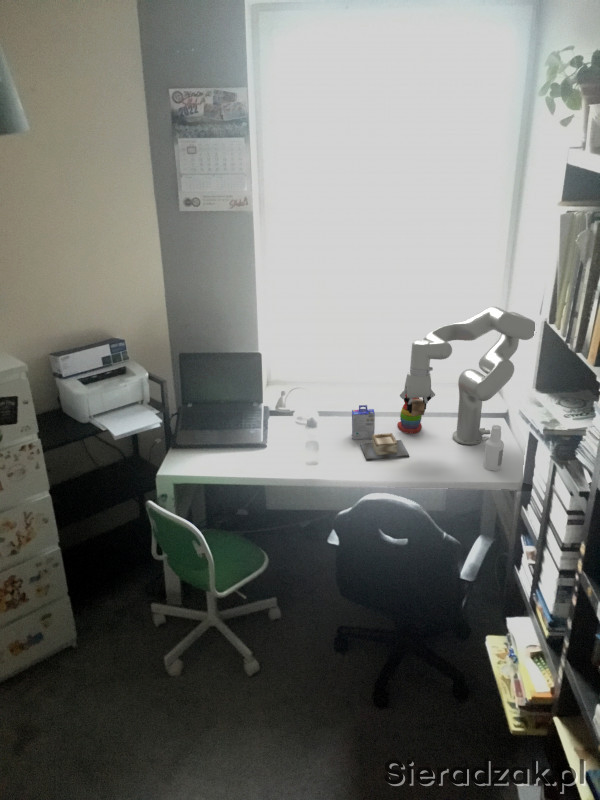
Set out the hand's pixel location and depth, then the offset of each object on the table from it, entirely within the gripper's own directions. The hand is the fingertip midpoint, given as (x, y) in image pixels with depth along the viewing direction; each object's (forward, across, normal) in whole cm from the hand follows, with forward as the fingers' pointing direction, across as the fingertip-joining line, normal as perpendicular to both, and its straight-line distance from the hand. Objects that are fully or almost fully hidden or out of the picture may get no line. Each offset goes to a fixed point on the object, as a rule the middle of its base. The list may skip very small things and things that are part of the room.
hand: (416, 411), depth 264 cm
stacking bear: (+18, -4, -18) cm, 26 cm away
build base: (+19, +12, -1) cm, 22 cm away
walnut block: (+1, 0, 0) cm, 1 cm away
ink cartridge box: (+19, +18, -15) cm, 30 cm away
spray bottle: (+17, -27, +19) cm, 37 cm away
